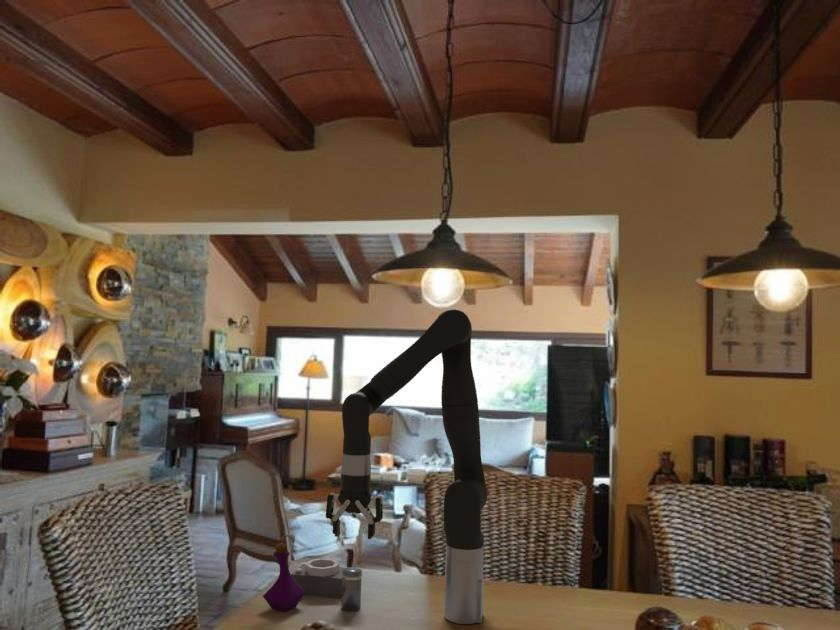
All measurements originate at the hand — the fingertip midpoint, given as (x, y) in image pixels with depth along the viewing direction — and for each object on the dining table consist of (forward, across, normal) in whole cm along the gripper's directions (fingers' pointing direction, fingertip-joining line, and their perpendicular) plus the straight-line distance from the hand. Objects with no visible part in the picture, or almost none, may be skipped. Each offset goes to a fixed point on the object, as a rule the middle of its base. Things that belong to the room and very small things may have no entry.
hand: (353, 537), depth 160 cm
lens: (+17, 0, 0) cm, 17 cm away
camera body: (+17, +11, -10) cm, 23 cm away
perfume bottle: (+18, +16, +4) cm, 24 cm away
